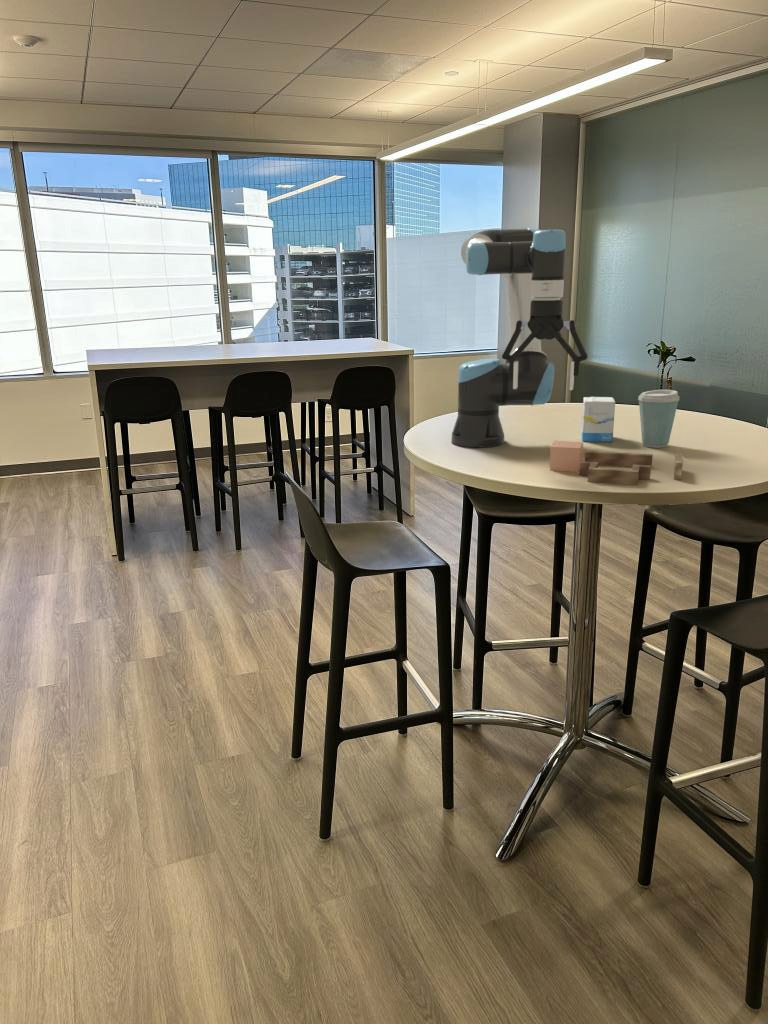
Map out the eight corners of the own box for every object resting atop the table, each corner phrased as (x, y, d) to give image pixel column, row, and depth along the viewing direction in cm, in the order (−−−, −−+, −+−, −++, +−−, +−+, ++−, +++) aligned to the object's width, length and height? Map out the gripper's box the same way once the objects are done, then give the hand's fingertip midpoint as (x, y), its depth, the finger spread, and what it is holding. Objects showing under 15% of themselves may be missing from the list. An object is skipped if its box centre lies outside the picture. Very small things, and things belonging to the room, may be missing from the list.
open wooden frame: (576, 480, 174) (577, 464, 173) (585, 462, 191) (586, 446, 190) (681, 488, 167) (682, 470, 165) (680, 468, 183) (682, 452, 182)
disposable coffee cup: (649, 451, 201) (654, 395, 196) (626, 443, 211) (630, 389, 206) (683, 447, 204) (688, 392, 199) (658, 440, 213) (663, 387, 209)
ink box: (612, 442, 212) (615, 401, 209) (582, 441, 214) (584, 401, 210) (610, 436, 220) (613, 396, 217) (580, 435, 222) (582, 396, 218)
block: (549, 470, 184) (550, 446, 183) (553, 463, 191) (554, 440, 189) (578, 472, 182) (579, 448, 180) (581, 465, 188) (583, 442, 187)
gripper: (491, 300, 178) (490, 389, 184) (600, 299, 171) (594, 392, 177) (496, 299, 185) (495, 385, 191) (601, 297, 178) (596, 387, 184)
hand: (543, 389), depth 184 cm, fingers open, 13 cm apart
